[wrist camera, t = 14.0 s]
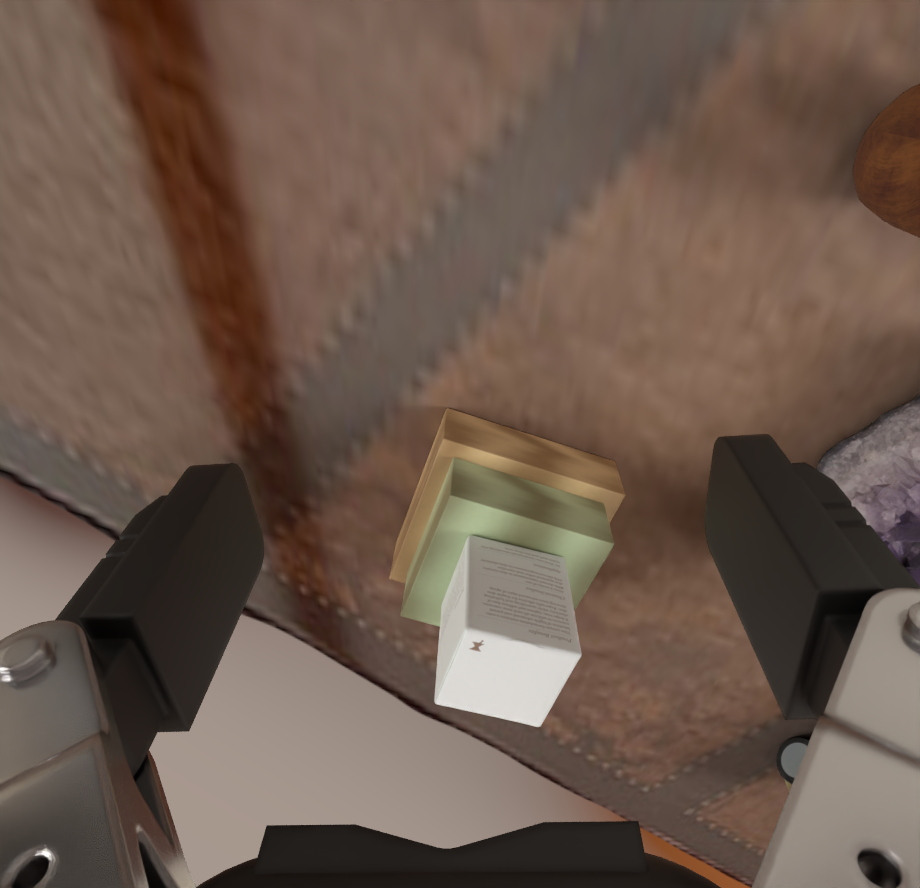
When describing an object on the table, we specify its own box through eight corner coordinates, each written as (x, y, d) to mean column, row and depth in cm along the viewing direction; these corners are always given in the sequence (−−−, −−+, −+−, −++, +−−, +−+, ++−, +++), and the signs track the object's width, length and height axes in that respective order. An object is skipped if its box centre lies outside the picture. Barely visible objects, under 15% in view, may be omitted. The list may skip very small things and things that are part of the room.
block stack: (396, 541, 48) (380, 622, 41) (446, 407, 42) (438, 475, 35) (546, 584, 50) (555, 669, 43) (615, 461, 44) (639, 536, 37)
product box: (439, 603, 40) (430, 705, 34) (468, 530, 37) (464, 627, 31) (532, 626, 41) (540, 730, 35) (568, 556, 38) (584, 656, 31)
